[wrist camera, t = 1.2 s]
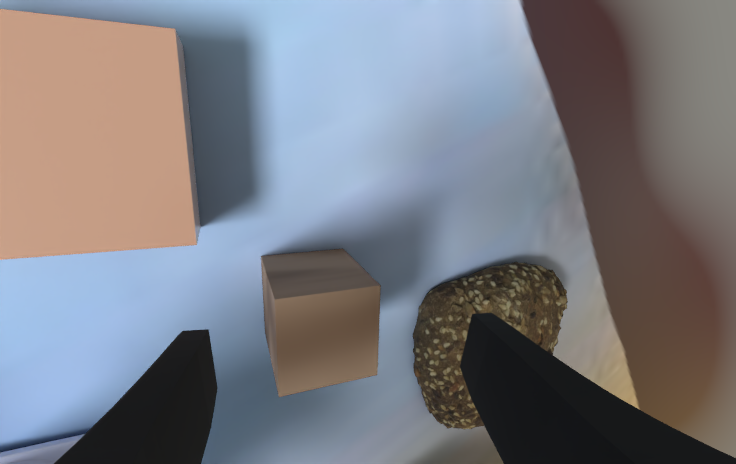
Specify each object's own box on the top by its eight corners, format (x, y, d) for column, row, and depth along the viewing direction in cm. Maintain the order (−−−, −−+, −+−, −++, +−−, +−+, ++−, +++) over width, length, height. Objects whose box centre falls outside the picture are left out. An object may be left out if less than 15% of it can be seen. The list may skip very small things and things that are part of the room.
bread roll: (411, 269, 23) (457, 303, 19) (557, 251, 28) (622, 275, 23) (402, 434, 26) (438, 496, 22) (533, 395, 31) (586, 440, 26)
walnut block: (342, 319, 22) (377, 374, 17) (264, 332, 20) (278, 397, 15) (342, 248, 21) (380, 285, 16) (261, 255, 19) (274, 299, 14)
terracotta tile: (200, 227, 18) (196, 244, 15) (-15, 240, 15) (-68, 264, 12) (183, 46, 16) (175, 28, 13) (-71, 21, 13) (-150, -9, 10)
